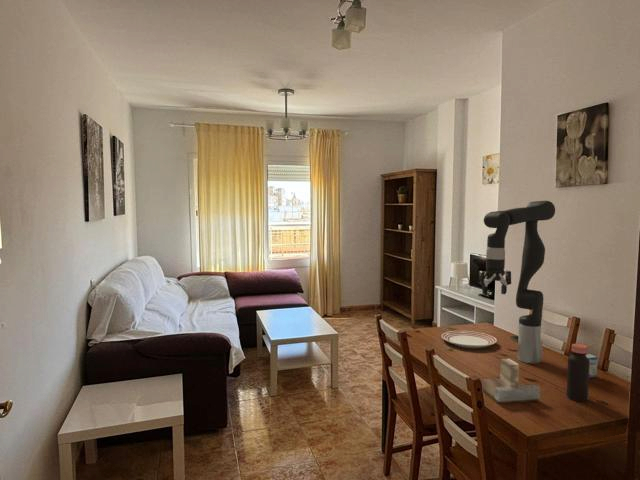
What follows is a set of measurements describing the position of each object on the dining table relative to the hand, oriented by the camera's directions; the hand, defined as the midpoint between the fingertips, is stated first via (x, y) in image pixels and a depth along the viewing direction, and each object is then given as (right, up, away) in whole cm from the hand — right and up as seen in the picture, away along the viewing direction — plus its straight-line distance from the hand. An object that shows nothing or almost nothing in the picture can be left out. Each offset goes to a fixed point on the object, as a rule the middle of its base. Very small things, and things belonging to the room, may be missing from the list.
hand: (494, 294), depth 180 cm
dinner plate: (+2, -31, +37) cm, 48 cm away
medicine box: (+36, -34, -7) cm, 50 cm away
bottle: (+19, -35, -27) cm, 49 cm away
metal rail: (-4, -34, -30) cm, 46 cm away
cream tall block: (-5, -34, -25) cm, 43 cm away
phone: (+32, -31, +38) cm, 59 cm away
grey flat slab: (-6, -35, -22) cm, 41 cm away
